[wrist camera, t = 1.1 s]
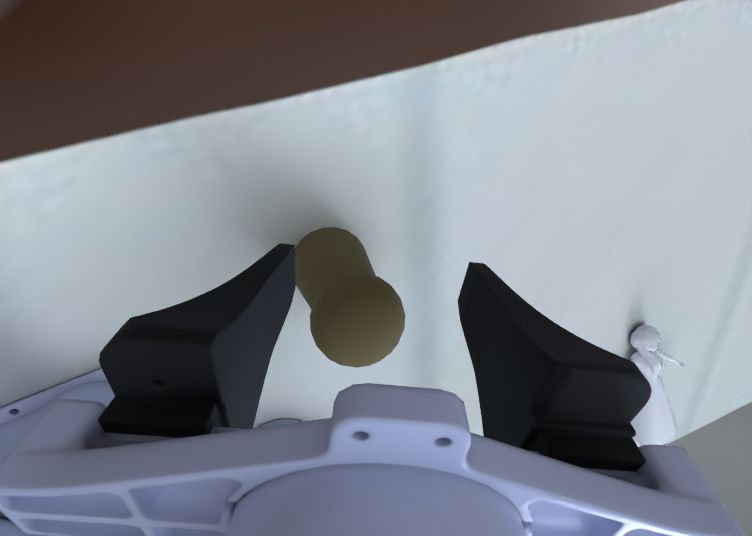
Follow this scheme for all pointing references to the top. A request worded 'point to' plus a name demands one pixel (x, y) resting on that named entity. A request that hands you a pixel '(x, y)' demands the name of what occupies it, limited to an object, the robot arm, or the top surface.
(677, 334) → the top surface
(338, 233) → the cork
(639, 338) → the woman figurine
